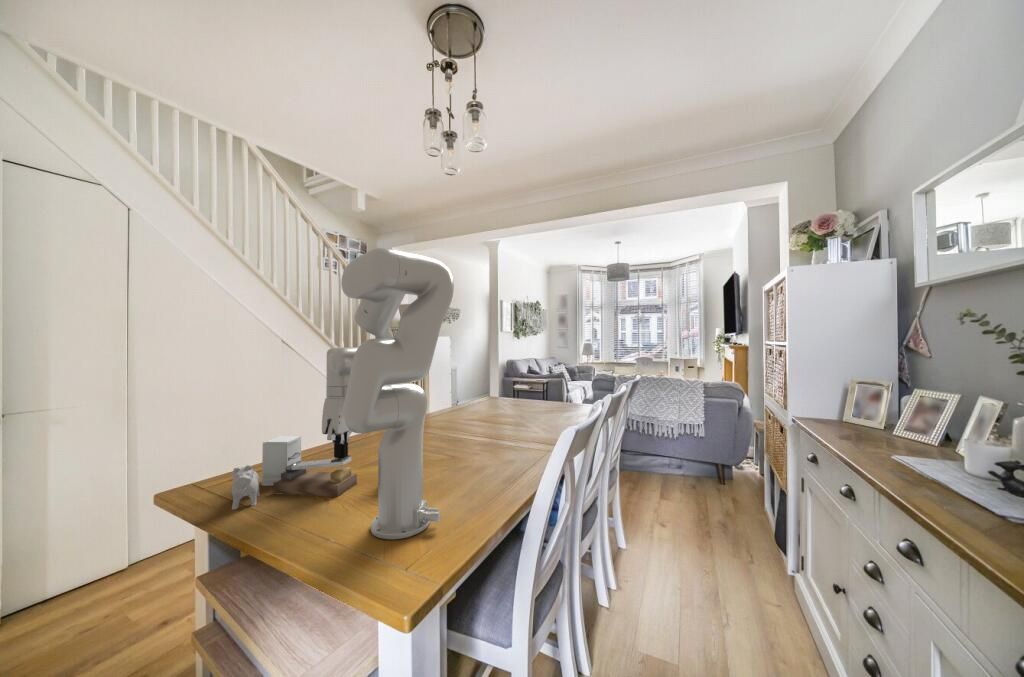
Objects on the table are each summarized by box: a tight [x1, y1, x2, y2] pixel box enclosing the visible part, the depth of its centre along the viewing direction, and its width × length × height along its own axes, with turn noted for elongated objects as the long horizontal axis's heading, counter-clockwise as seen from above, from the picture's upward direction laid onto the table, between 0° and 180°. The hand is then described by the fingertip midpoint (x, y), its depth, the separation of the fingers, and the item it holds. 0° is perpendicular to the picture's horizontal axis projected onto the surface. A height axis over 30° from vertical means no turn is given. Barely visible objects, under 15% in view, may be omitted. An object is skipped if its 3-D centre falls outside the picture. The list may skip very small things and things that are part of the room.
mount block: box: [272, 466, 358, 498], centre depth 101 cm, size 19×9×5 cm, turn 83°
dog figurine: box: [230, 464, 260, 511], centre depth 91 cm, size 5×13×11 cm, turn 31°
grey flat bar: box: [285, 454, 352, 472], centre depth 101 cm, size 17×5×2 cm, turn 83°
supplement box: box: [261, 435, 302, 487], centre depth 107 cm, size 7×7×13 cm
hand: (341, 456), depth 100 cm, fingers closed
